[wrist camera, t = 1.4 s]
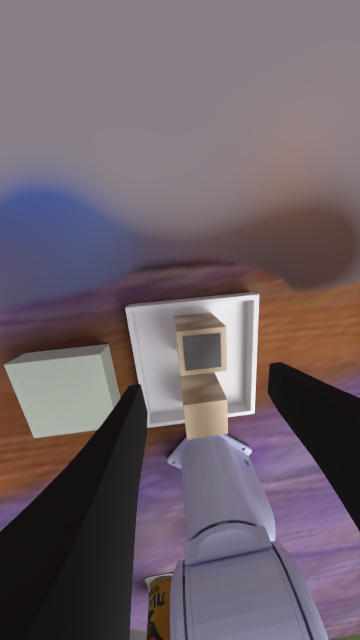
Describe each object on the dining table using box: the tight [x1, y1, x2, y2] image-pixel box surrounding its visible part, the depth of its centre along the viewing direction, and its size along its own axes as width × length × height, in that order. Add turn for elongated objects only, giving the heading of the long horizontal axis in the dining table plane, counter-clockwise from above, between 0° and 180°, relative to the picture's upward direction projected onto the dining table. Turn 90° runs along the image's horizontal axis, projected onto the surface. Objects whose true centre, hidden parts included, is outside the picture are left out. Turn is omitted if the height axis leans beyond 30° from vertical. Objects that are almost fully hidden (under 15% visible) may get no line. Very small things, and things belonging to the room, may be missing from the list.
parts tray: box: [125, 292, 259, 428], centre depth 19 cm, size 14×13×2 cm
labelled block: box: [174, 313, 227, 376], centre depth 16 cm, size 4×4×5 cm
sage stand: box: [4, 344, 120, 438], centre depth 19 cm, size 9×9×2 cm
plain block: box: [180, 372, 228, 440], centre depth 18 cm, size 4×4×5 cm
